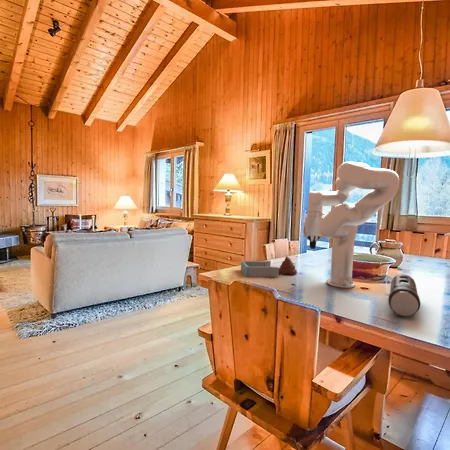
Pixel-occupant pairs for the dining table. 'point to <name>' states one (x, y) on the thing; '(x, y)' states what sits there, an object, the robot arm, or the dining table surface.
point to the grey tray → (259, 269)
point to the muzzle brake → (404, 296)
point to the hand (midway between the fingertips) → (312, 248)
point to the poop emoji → (287, 267)
